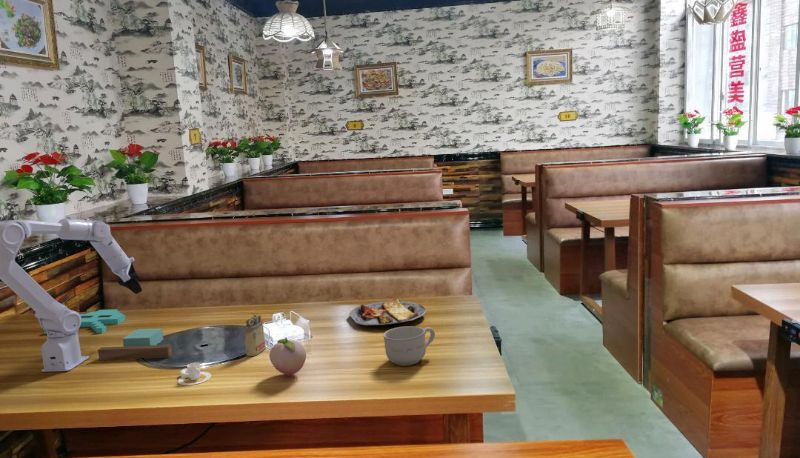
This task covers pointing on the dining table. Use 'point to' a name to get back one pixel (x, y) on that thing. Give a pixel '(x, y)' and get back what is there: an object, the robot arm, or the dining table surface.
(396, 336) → the teacup
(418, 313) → the food plate
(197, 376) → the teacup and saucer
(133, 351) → the walnut board
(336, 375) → the dining table surface
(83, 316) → the teal pixel cutout
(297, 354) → the decorative fruit
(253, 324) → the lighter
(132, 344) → the teal block
